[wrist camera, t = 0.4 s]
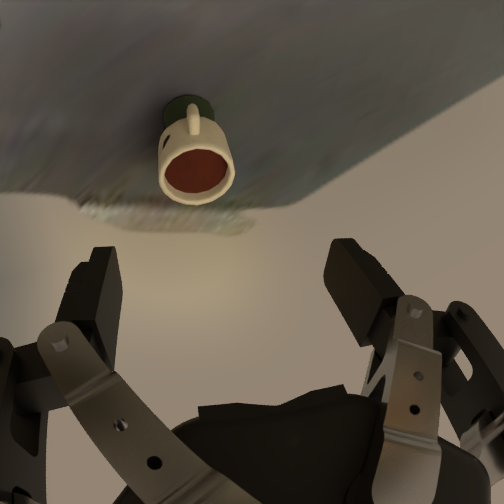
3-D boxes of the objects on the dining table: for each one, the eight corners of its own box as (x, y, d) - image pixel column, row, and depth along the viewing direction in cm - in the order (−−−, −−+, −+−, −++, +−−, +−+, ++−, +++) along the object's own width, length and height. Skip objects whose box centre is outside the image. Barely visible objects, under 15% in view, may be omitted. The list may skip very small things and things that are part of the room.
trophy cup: (156, 78, 31) (152, 129, 23) (218, 73, 32) (239, 122, 25) (162, 153, 39) (164, 223, 32) (215, 148, 41) (232, 215, 33)
